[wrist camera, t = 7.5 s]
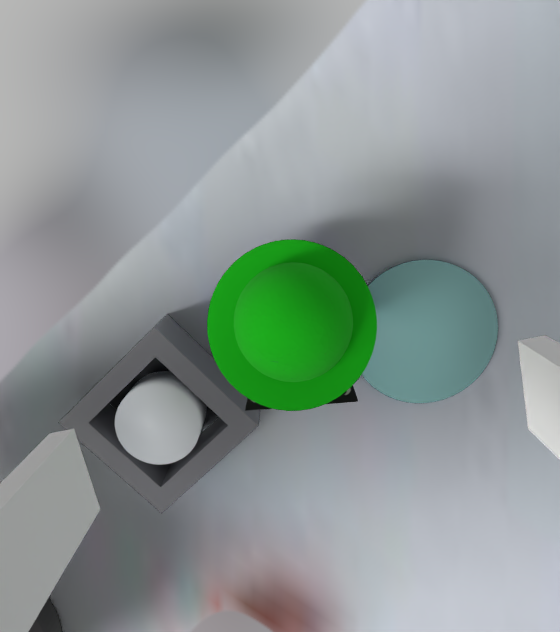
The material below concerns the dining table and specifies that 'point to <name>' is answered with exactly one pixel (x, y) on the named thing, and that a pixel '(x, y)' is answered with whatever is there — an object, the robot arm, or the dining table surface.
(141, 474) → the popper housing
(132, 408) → the dome
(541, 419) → the robot arm
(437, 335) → the pad
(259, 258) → the toy
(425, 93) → the dining table surface
